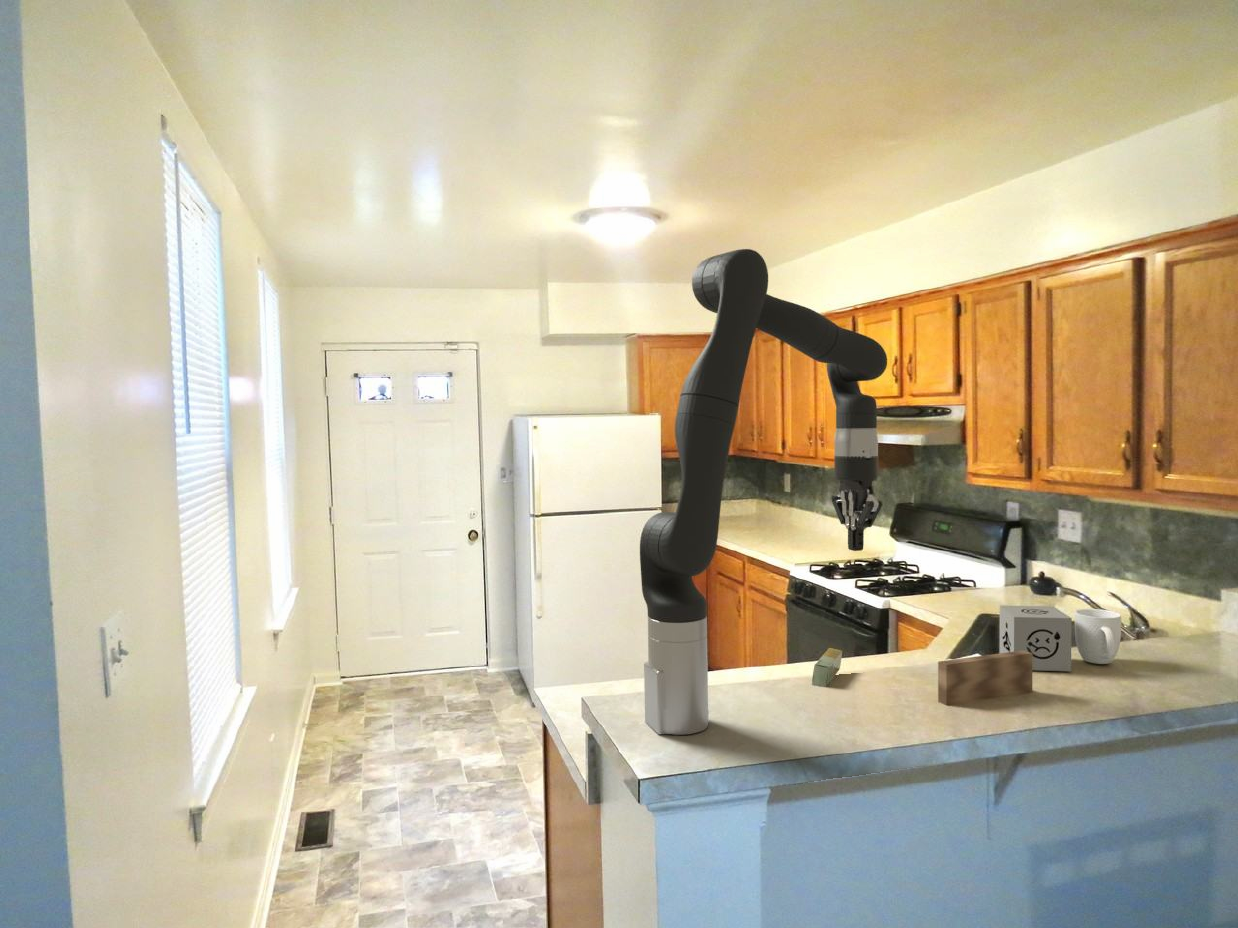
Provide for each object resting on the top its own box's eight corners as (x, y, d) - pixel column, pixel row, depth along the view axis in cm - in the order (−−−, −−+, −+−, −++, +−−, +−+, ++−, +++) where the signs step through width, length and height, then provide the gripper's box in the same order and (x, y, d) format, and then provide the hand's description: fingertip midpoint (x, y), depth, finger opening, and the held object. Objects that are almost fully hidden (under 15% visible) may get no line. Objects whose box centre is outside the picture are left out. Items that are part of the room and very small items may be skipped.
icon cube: (1053, 656, 167) (1053, 606, 167) (1071, 671, 157) (1071, 618, 157) (999, 654, 169) (999, 605, 168) (1013, 669, 159) (1014, 616, 158)
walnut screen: (946, 706, 140) (946, 664, 140) (938, 702, 142) (938, 661, 142) (1032, 693, 146) (1032, 653, 145) (1023, 689, 148) (1023, 650, 147)
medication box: (826, 689, 150) (828, 667, 150) (811, 686, 151) (813, 664, 151) (840, 669, 161) (842, 649, 160) (826, 666, 162) (828, 646, 162)
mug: (1134, 671, 156) (1135, 621, 156) (1088, 670, 158) (1089, 620, 157) (1110, 655, 167) (1110, 608, 166) (1067, 654, 168) (1068, 608, 168)
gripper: (818, 453, 156) (817, 546, 157) (859, 455, 144) (858, 556, 145) (853, 452, 159) (852, 544, 159) (896, 454, 146) (896, 554, 147)
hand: (855, 550), depth 152 cm, fingers closed
